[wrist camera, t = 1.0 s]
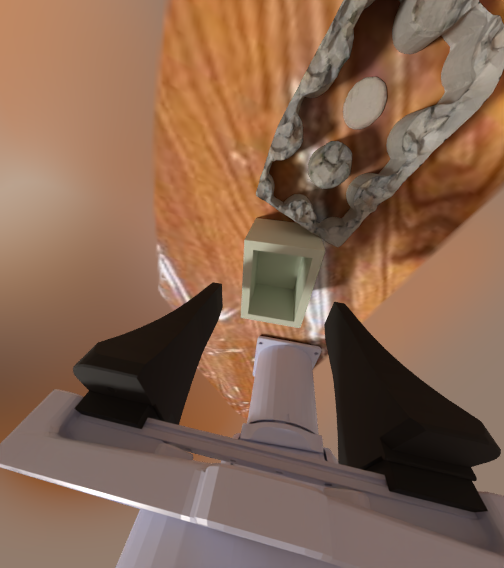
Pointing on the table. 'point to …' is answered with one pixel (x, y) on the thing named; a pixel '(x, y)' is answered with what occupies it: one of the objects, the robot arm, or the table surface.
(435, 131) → the egg carton
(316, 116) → the table surface
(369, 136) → the table surface
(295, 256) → the box
